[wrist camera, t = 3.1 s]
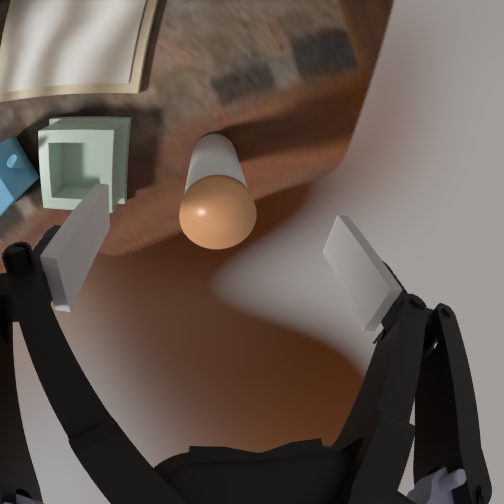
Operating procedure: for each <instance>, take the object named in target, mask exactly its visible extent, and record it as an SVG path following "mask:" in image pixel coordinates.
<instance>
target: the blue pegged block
mask: <svg viewBox="0 0 504 504" xmlns="http://www.w3.org/2000/svg"><path fill="white" fill-rule="evenodd" d="M39 177H40V176H39V175H38V173H37V172H36V170H35V168H34V167H33V165H32V164H31V162H30V160H29V159H28V157H27V155H26V154H25V152H24V150H23V149H22V147H21V145H20V143H19V142H18V140H17V138H16V136H15V135H14V136H12V137H10V138H8V139H6V140H4V141H3V142H1V143H0V216H1V215H2V214H3V213H4V212H5V211H6V210H7V209H8V208H9V207H10V206H11V205H12V204H13V203H14V202H15V201H16V200H17V199H18V198H19V197H20V196H21V195H22V194H23V193H24V192H25V191H26V190H27V189H28V188H29V187H30V186H31V185H32V184H33V183H34V182H35V181H36V180H37V179H38V178H39Z"/></svg>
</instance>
